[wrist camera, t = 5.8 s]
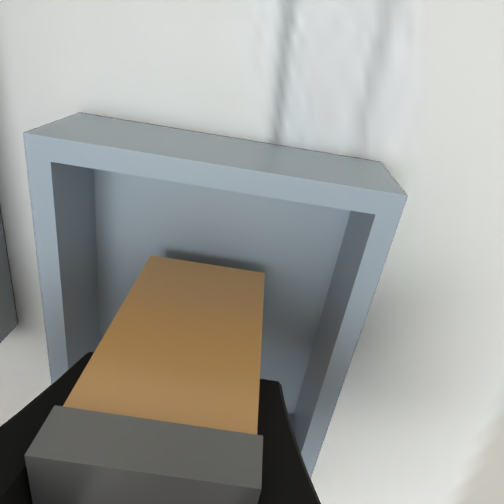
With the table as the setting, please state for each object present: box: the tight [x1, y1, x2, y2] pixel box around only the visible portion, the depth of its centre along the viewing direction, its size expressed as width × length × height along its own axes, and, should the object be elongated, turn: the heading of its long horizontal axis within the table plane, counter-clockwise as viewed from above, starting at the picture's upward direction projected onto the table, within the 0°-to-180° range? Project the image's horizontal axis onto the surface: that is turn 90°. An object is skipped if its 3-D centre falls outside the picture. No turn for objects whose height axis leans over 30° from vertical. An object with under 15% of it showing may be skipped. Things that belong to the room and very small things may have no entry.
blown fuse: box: [24, 255, 265, 504], centre depth 10 cm, size 4×4×7 cm
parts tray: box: [23, 113, 408, 478], centre depth 14 cm, size 11×9×3 cm
